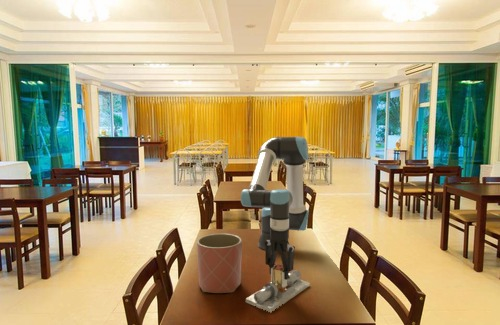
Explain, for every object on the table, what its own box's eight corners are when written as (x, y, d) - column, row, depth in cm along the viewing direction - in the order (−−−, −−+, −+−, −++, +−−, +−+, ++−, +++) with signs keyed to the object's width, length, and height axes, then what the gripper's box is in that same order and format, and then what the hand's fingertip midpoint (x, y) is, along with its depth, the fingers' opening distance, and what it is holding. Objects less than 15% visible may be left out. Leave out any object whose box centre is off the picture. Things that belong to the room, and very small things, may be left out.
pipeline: (285, 278, 152) (286, 264, 152) (309, 285, 145) (309, 271, 144) (245, 302, 131) (245, 286, 130) (270, 312, 123) (270, 295, 123)
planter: (201, 275, 155) (201, 233, 153) (243, 276, 155) (243, 233, 153) (193, 295, 136) (192, 247, 134) (240, 296, 136) (240, 248, 134)
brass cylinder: (277, 286, 141) (277, 263, 140) (287, 289, 138) (287, 266, 137) (270, 290, 137) (270, 266, 136) (280, 293, 134) (280, 270, 133)
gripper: (256, 226, 138) (256, 281, 140) (293, 234, 127) (292, 294, 129) (267, 222, 144) (267, 275, 146) (303, 230, 132) (302, 287, 134)
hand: (278, 284), depth 137 cm, fingers closed on brass cylinder, 5 cm apart
